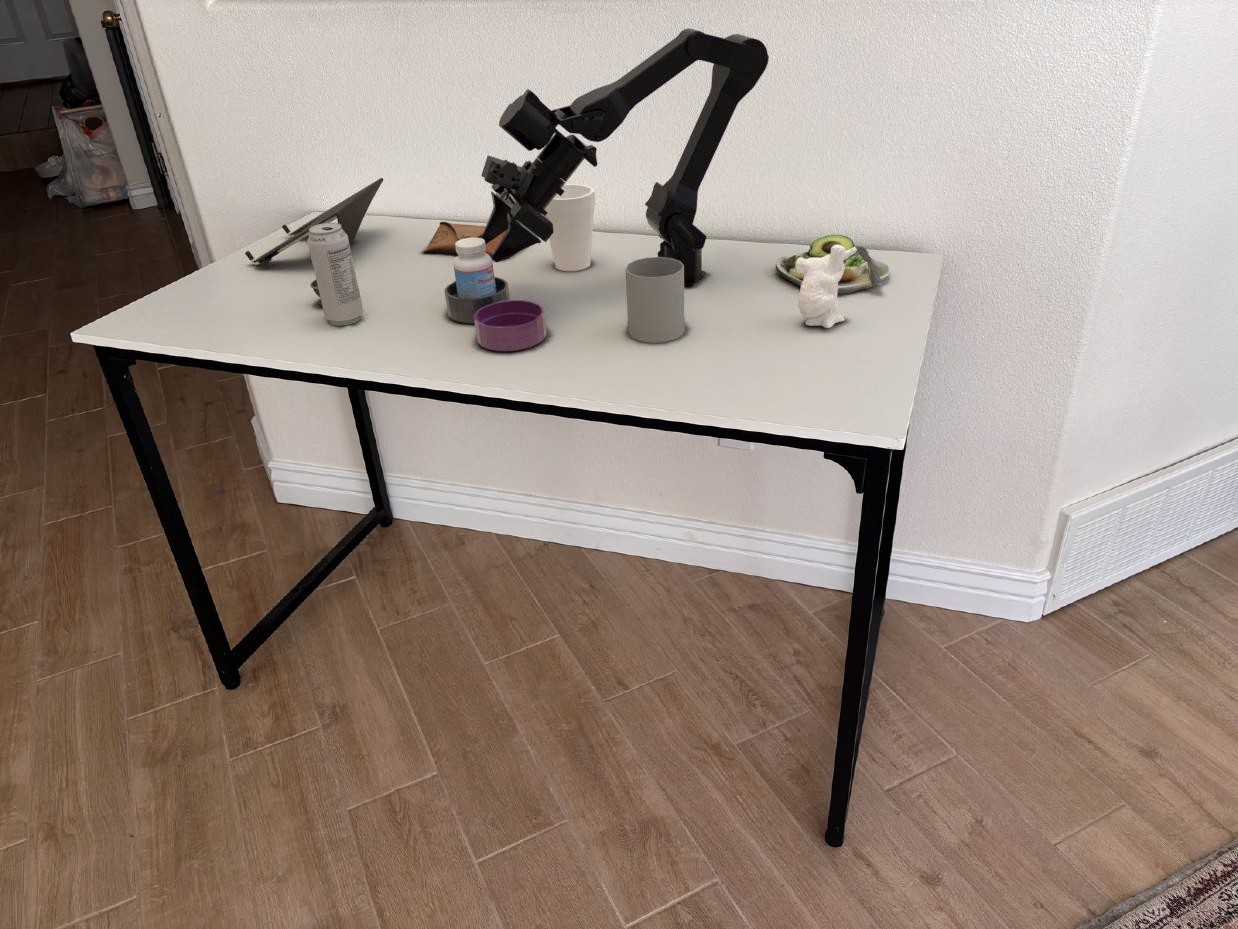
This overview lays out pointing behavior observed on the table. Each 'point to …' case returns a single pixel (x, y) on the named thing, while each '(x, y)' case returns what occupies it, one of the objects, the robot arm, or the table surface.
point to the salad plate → (857, 266)
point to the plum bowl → (510, 325)
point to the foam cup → (572, 227)
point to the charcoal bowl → (472, 301)
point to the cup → (655, 299)
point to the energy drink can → (335, 273)
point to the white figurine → (822, 286)
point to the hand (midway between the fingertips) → (488, 250)
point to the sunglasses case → (458, 238)
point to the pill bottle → (473, 269)
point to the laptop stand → (344, 212)
